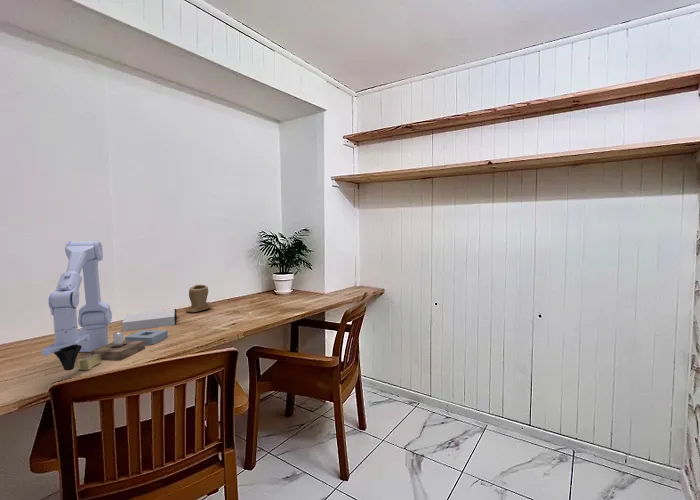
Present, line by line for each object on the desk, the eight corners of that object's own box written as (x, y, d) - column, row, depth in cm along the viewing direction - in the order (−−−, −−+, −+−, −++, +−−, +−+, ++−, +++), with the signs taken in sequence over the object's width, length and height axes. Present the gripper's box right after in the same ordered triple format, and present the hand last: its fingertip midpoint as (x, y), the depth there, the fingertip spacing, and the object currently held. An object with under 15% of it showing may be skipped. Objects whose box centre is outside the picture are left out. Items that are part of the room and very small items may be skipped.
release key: (78, 369, 115) (77, 360, 115) (93, 362, 121) (92, 353, 121) (88, 369, 114) (88, 360, 114) (103, 362, 120) (103, 353, 120)
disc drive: (176, 325, 169) (176, 315, 168) (122, 332, 159) (121, 322, 158) (176, 317, 185) (176, 308, 184) (127, 323, 174) (127, 313, 174)
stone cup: (195, 314, 189) (194, 287, 188) (182, 312, 194) (181, 286, 194) (218, 308, 202) (217, 283, 201) (205, 306, 208) (204, 282, 207)
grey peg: (112, 354, 129) (111, 334, 128) (118, 352, 132) (117, 331, 131) (119, 355, 128) (118, 334, 128) (125, 352, 131) (124, 331, 131)
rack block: (125, 344, 141) (124, 337, 140) (142, 336, 150) (142, 329, 150) (152, 344, 139) (151, 337, 139) (167, 337, 149) (167, 330, 149)
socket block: (91, 359, 125) (90, 351, 125) (117, 347, 137) (117, 340, 136) (121, 360, 123) (120, 351, 123) (145, 348, 135) (144, 340, 135)
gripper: (55, 335, 101) (58, 379, 102) (96, 321, 115) (99, 361, 116) (34, 334, 102) (37, 379, 103) (78, 321, 116) (80, 360, 117)
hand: (68, 369), depth 110 cm, fingers closed
